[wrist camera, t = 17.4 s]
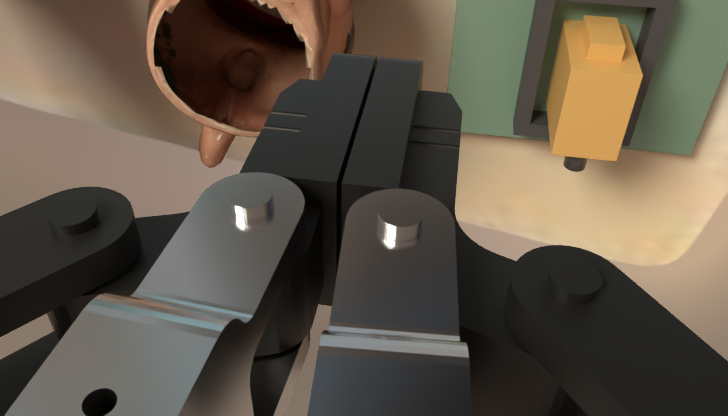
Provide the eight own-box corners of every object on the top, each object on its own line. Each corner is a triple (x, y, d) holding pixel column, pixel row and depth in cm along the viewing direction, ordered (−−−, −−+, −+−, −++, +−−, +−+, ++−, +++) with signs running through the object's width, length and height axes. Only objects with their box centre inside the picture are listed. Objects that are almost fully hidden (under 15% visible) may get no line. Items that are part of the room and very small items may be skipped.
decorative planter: (337, 121, 53) (295, 236, 43) (190, 75, 53) (111, 179, 42) (412, -143, 40) (379, -72, 30) (219, -208, 40) (116, -160, 29)
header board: (444, 119, 52) (441, 144, 49) (464, -67, 43) (462, -48, 40) (686, 144, 50) (696, 171, 47) (760, -47, 41) (778, -26, 38)
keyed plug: (540, 122, 49) (545, 179, 43) (565, 4, 43) (574, 53, 38) (596, 128, 48) (608, 186, 43) (630, 9, 43) (647, 59, 37)
